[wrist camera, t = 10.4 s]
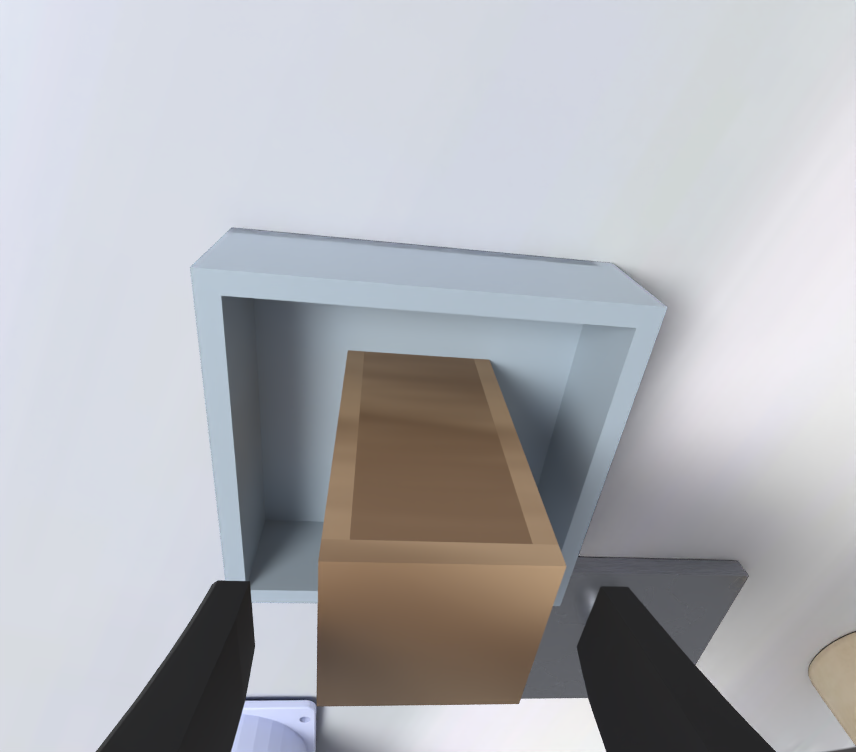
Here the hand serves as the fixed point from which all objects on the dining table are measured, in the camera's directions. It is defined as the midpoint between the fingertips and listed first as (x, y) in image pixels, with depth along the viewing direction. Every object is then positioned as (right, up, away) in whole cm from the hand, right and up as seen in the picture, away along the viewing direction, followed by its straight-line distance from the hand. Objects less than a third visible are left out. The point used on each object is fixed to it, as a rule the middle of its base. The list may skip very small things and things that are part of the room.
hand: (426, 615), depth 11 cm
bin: (0, +4, +7) cm, 8 cm away
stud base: (+9, -7, +14) cm, 17 cm away
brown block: (0, +4, +6) cm, 7 cm away
